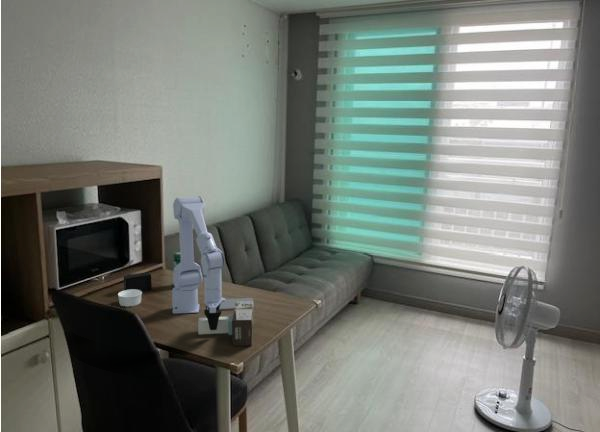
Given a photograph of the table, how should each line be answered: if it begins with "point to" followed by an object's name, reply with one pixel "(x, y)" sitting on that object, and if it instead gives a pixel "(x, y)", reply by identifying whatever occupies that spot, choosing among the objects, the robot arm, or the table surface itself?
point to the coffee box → (242, 323)
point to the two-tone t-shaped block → (222, 326)
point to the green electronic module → (177, 258)
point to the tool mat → (232, 303)
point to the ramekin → (129, 297)
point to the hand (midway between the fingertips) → (213, 324)
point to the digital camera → (138, 281)
